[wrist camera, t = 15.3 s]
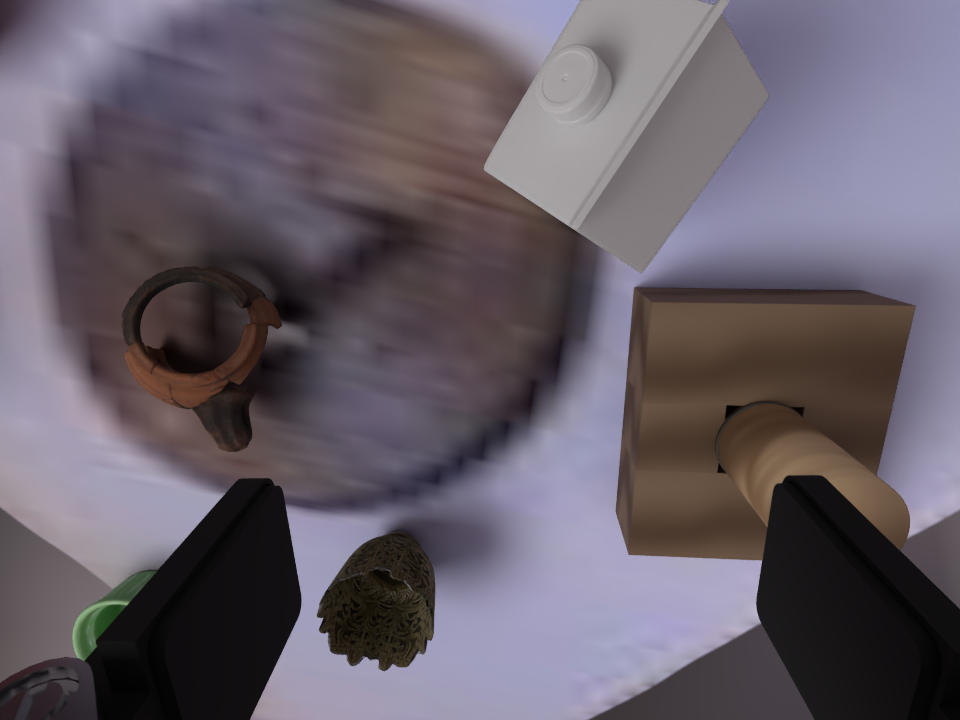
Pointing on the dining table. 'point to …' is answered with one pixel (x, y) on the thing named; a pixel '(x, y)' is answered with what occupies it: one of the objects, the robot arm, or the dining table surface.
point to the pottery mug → (204, 390)
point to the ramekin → (105, 613)
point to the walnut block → (743, 400)
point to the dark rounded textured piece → (381, 603)
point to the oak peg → (800, 464)
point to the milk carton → (630, 120)
